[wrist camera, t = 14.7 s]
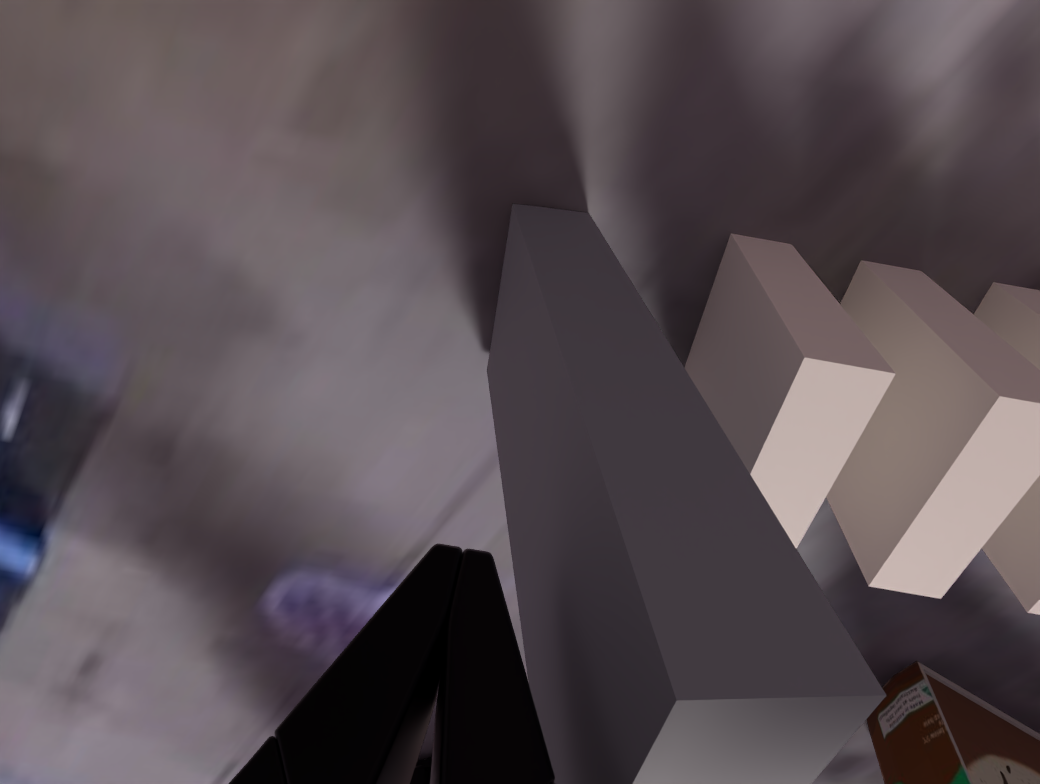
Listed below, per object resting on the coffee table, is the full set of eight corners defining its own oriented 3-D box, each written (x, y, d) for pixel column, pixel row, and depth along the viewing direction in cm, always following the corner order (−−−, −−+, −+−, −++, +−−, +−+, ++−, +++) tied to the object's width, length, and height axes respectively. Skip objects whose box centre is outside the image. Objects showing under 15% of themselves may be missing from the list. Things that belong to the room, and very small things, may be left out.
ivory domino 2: (921, 270, 16) (1089, 412, 11) (839, 424, 19) (941, 598, 14) (860, 260, 16) (999, 396, 11) (787, 415, 19) (868, 585, 14)
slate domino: (588, 213, 16) (886, 694, 6) (552, 375, 19) (706, 907, 8) (512, 203, 16) (677, 699, 5) (487, 370, 19) (560, 919, 8)
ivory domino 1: (791, 244, 16) (896, 373, 11) (727, 401, 19) (784, 568, 14) (730, 233, 16) (805, 357, 11) (675, 392, 19) (712, 556, 14)
